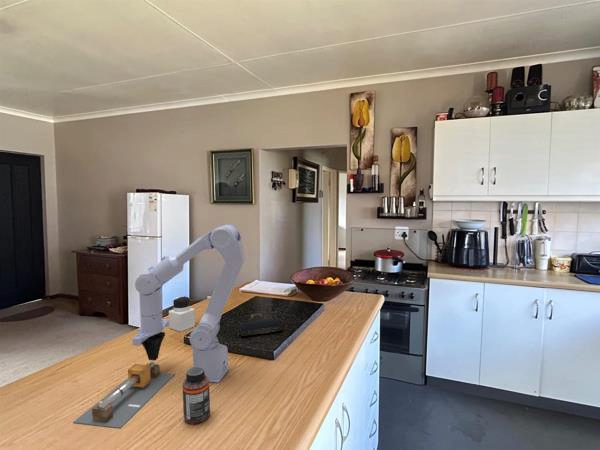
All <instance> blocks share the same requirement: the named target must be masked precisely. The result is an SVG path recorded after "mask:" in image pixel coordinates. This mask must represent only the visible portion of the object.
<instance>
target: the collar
mask: <svg viewBox="0 0 600 450" xmlns="http://www.w3.org/2000/svg"><path fill="white" fill-rule="evenodd" d="M127 374H128V375H127V376H128V378H127V379H128V380H130V379H131V378H132V377H133V376H135V375H136V374H140V380H139V381H138V382H137V383H136V384H134V385H133V386H134V387H145V386H146V385H147V384H148V383H149V382H150V381H151V380H150V365H147V364H142V363H141V364H138V363H135V364H133V365H132V366H131V367H129V368H128V369H127Z"/></svg>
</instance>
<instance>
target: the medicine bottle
mask: <svg viewBox="0 0 600 450" xmlns="http://www.w3.org/2000/svg"><path fill="white" fill-rule="evenodd" d="M190 301H191V300H190V297H188V296H183V295H182V296H177V297H175V298H174V299H173V300H172V304H173V308H172V309H170V310H168V319H169V326H168V327H169V329H171V330H175V331H177V332H180V333H182V332H185V331H186V330H189V329H192V328H194V327H196V313H195V312H196V309H195V308H191V307H190V306H191V303H190Z"/></svg>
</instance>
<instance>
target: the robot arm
mask: <svg viewBox="0 0 600 450" xmlns="http://www.w3.org/2000/svg"><path fill="white" fill-rule="evenodd" d="M242 237H243V236H242V234H241V233H240V231H239V229H238V228H237V227H236V226H235V225H233V224H230V223H225V224H223V225H221V226H218V227H215V228H214V229H213V230H210V231H209V232H207V233H205V234H203V235H201V236H200V237H198V238H197V239H196V240H195V241H193V242H192V243H191V244H190V245H188V246H187V247H186V248H184V249H183V250H182V251H181V252H180V253H177V255H175V254H169V255H168V256H167V255H164V256H163V257H161V258H160V260H161V261H159V262H158V263H157V264H155V265H154V266H152V265H151V266H150V267H148V271H147V272H144V273H142V274H141V273H140V274H139V276H138V277H137V278H136V280H135V283H134V287H135V289H136V291H137V292H138V293H139V294H138V295H139V315H140V316H139V317H140V318H139V319H140V327H138V328H137V331H138V332H137V334H136V335H135V336H134V337H133V338H132V346H137V347H140V346H143V348H144V351H145V352H146V356H147V359H148V361H157V359H158V358H159V354H160V349H161V346H162V343H163V340H164V339H165V337H166V332H165V331H164V330H165V328H166V327H169V318H163V305H162V304H163V301H162V300H163V299H162V287H163V286H164V284H167V283H168V282H169V281H171V280H172V279H173V278H175V277H176V276H177V275H179V274H180V273H182V272H183V270H184V265H185V264H186V263H187V262H189V261H190V260H192V259H194V257H196V256H197V255H199V254H200V253H201V252H203V251H205V250H212V249H215V250H216V251H217V252H219V254H220V255H221V256H222V258H223V260H224V261H225V264H224V266H223V268H222V270H221V273H220V275H219V277H218V280H217V282H216V285H215V287H214V289H213V292H212V294H211V296H210V299H209V301H208V303H207V306H206V308H205V311H204V313H203V315H202V317H201V319H200V320H199V323H198V324H197V326H195V328H194V329H193V330H192V331H191V332H190V334H189V343H190V345H191V347H192V367H203V368H204V373H205V375H206V376H207V377H208V379H209V383H217V384H218V383H220V382H221V381H222V379H223V378H224V376H225V375H226V373H228V371H229V370H230V367H229V356H228V355H229V352H228V350H229V349H228V346H227V345H225V344H221V343H219V339H218V337H217V335H218V333H220V332H219V331H220V329H221V328H220V321H221V318H222V315H223V312H224V309H225V307H226V305H227V302H228V300H229V299H230V295H231V293H232V292H233V289H234V286H235V284H236V282H237V280H238V277H239V275H240V272H241V270H242V268H243V265H244V263H245V258H246V257H245V253H244V251H245V250H244V247H243V238H242Z"/></svg>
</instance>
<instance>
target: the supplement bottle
mask: <svg viewBox="0 0 600 450" xmlns="http://www.w3.org/2000/svg"><path fill="white" fill-rule="evenodd" d="M185 377H186V378H185V379H184V380H183V381H182V404H183V405H182V406H183V409H182V411H183V419H184V421H185V422H186V423H187V424H192V425H193V424H200V423H202V422H204V421H206V420H207V419H208V418H209V416H210V414H211V402H210V401H211V400H210V399H211V396H210V394H211V392H210V382H209V379H208V377H207V376H206V375H205V373H204V368H203V367H193V366H192V367H190V368H188V369H187V370H186V376H185Z"/></svg>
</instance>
